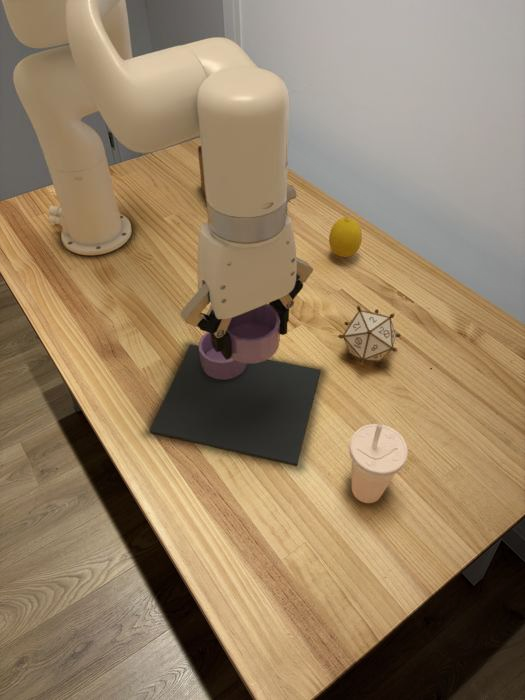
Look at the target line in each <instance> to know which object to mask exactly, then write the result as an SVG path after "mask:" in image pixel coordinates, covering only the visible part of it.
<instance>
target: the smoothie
mask: <svg viewBox="0 0 525 700" xmlns="http://www.w3.org/2000/svg"><path fill="white" fill-rule="evenodd" d="M407 445H408V444H407V442H406V439H404V437H403V436H402V434H401V433H399V432H398V431H397V430H396V429H394V428H393V427H391V426H388V425H385V424H382V423H381V422H379V423H368V424H365V425H362V426H361V427H359V428H358V429H356V430H355V431H354V433H352V435H351V438H350V441H349V443H348V455H349V457H350V460H351V462H350V463H351V464H350V465H351V492H352V494H353V496H354V498H355V499H356V500H358V501H360V502H361V503H364V504H374V503H376V502H378V501H379V500H380V498H381V497H382V496H383V494H384V492H385V491H386V489H387V488H388V486H389V485H390V483H391V482H392V480H393V478H394V477H395V476H396V474H399V473H400V472H401V471H402V470H403V469H404V467H405V465H406V464H407V459H408V453H409V451H408V446H407Z"/></svg>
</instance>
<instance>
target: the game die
mask: <svg viewBox="0 0 525 700" xmlns="http://www.w3.org/2000/svg"><path fill="white" fill-rule="evenodd" d="M356 309H357V312H356V314H355V315H354V316H353V318H351V320H350V321H349V322H348V321H344V322H343V324H344V326H346V329H345V331H344V333H343V334H339V335H338V336H337V338H339V339H343V340H344V342H345V345H346V347H347V349H348V352H349V353H347V354H346V358H350V357H351V356H354V357H356V358H358V359H359V360H360V365H364V364H365V361H368V362H369V361H370V362H378V365H379V366H381V367H382V366H383V361H382V360H383V359H384V358H385V357H386V356H387V355H388V354H389V353H390V352H391V351H392V352H398V349H397V347H394V345H395V343H396V342H395V341H396V338H400V337H401V336H402V335H401V334H400V333H396V331H395V328H394V324H393V321H392V319H393V318H395V313H394V312H393V313H391V314H390V315H389V316H388V315H384V314H381V313H379V309H378V308H377V309H375V310H374V312H372V311H367V310H361V309H362V308H361V306H359V304H357V306H356Z"/></svg>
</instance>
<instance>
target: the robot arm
mask: <svg viewBox="0 0 525 700" xmlns="http://www.w3.org/2000/svg"><path fill="white" fill-rule="evenodd" d="M1 3H2V7H3V10H4V13H5V15H6V19H7V22H8V24H9V27H10V29H11V31H12V33H13V35H14V36H15V38H16V39H17V40H18V41H19V42H20V43H21V44H22V45H24V46H25V47H28V48H32V49H46V50H43V51H42V50H41V51H39V52H36V53H35V52H34V53H32V54H30V55H28V56H26V57H24V58H22V59H21V60H20V61H19V62H18V63H17V64H16V66H15V68H14V70H13V74H12V79H13V80H12V81H13V86H14V89H15V92H16V95H17V96H18V98H19V100H20V103H21V105H22V106H23V108H24V110H25V113H26V114H27V117H28V118H29V121H30V123H31V125H32V127H33V129H34V132H35V134H36V137H37V140H38V142H39V146H40V148H41V151H42V154H43V157H44V160H45V163H46V166H47V169H48V172H49V175H50V178H51V181H52V184H53V187H54V191H55V194H56V197H57V200H58V204H59V205H60V206H57V205H50V206H49V207H48V215H49V217H48V224H53V225H59V226H60V227H61V234H60V237H61V241H62V243H63V244H62V245H64V247H65V248H66V250H68V251H70V252H72V253H75V254H78V255H81V256H100V255H105V254H107V253H111V252H113V251H115V250H118V249H119V248H121V247H122V246H124V245H125V244H126V243H127V242H128V241H129V239H130V238H131V235H132V232H133V229H132V224H131V221H130V220H129V218H128V217H126V216H125V214H122V213H120V210H119V206H118V202H117V197H116V194H115V188H114V185H113V179H112V176H111V173H110V167H109V164H108V159H107V154H106V150H105V146H104V143H103V140H102V138H101V137H100V135H99V133H98V132H96V130H95V129H94V128H92V127H91V126H90V125H89V124H87V123H86V122H84V121H83V120H82V119H83V118H84V117H86V116H90V115H92V114H95V113H99V114H100V116H101V117H102V119H103V121H104V122H105V124H106V126H107V127H108V129H109V130H110V133H112V135H113V136H114V137H115V139H116V140H117V141H118V142H119V143H120V144H121V145H123V147H125V148H126V149H128V150H130V151H132V152H135V153H139V154H140V153H141V154H148V153H153V152H157V151H160V150H163V149H164V150H165V149H167V148H169V147H172V146H174V145H178V144H180V143H183V142H186V141H188V140H191V139H194V138H196V137H200V146H201V149H202V160H203V170H204V182H205V192H206V201H205V203H206V213H207V221H206V222H204V223H202V224H201V226H200V229H199V236H198V242H197V254H196V255H197V256H196V275H197V279H196V280H197V292H196V293H195V294H194V295H193V296H192V297H191V299H190V300H189V301H188V302H187V304H185V306H184V307H183V309H181V311H180V313H179V314H180V316H181V317H182V319H183V321H184V322H185V323H186V324H188V325H191V326H192V327H195V328H198V329H200V331H203V332H205V333H206V332H209V333H210V335H211V343H212V346H213V348H214V349H215V351H216V352H219V351H220V352H221V353H222V355H223V356H224V358H225V359H226V360H227V359H230V358H231V356H232V352H231V338H230V334H229V333H228V331H227V328H228V326H229V323H230V321H231V319H232V317H235V316H238V315H240V314H243V313H245V312H248V311H250V310H253V309H255V308H258V307H260V306H263V305H265V304H269V305H271V306H273V307H274V309H275V310H276V311H277V312H278V313H279V317H280V336H285V335H286V334H288V323H289V320H290V309H291V308H292V307H294V304H295V301H294V299H295V298H296V297H297V296H298V294H299V293H300V292H301V291H302V290H303V288H304V283H306V282H307V280H309V277H310V276H311V275H312V273H313V272H314V268H313V267H312V265H310V263H308V262H307V261H306V260H304V259H302V258H299V257H297V247H296V240H295V239H296V238H295V234H294V233H295V232H294V228H293V224H292V220H291V217H290V214H289V213H288V203H290V201H292V200H294V199H296V198H297V190H296V188H295V187H294V186H293V184H290V185H288V168H289V167H288V165H289V135H290V133H289V132H290V131H289V130H290V94H289V89H288V87H287V84H286V83H285V81H284V80H283V79H282V78H281V77H280V76H279V75H277V74H276V73H274V72H272V71H270V70H267V69H265V68H260V67H258V66H257V65H256V64H255V62H254V61H253V60H252V59H251V58H250V57H249V55H248V54H247V53H246V51H244V50H243V48H242V47H241V46H239V44H237V43H236V42H235V41H233V40H231V39H229V38H228V37H227V38H226V37H223V36H221V37H220V36H219V37H218V36H216V37H209V38H205V39H201V40H197V41H193V42H189V43H185V44H181V45H175V46H172V47H167V48H163V49H160V50H157V51H153V52H150V53H145V54H142V55H139V56H135V57H133V51H132V42H131V34H130V32H131V31H130V25H129V24H130V23H129V15H128V8H127V2H126V0H1ZM66 44H68V45H66ZM53 47H54V48H53ZM47 48H49V49H47ZM209 304H210V305H209ZM208 305H209V308H208V309H207V312H206V313H203V311H204V310H205V309H206V308H207V307H208Z"/></svg>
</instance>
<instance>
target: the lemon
mask: <svg viewBox="0 0 525 700" xmlns="http://www.w3.org/2000/svg"><path fill="white" fill-rule="evenodd" d="M362 241H363V233H362V228H361V226H360V224H359V222H358V221H357V220H355V219H354V218H352V217H341V218H340V219H338V220H336V221H335V223H334V224H333V225H332V227H331V229H330V232H329V237H328V242H329V243H328V244H329V247H330V249H331V251H332V253H334V254H335V255H336V256H338V257H341V258H348V257H351V256H353V255H355V254H356V253H357V252H358V251H359V249H360V247H361V244H362Z"/></svg>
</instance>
